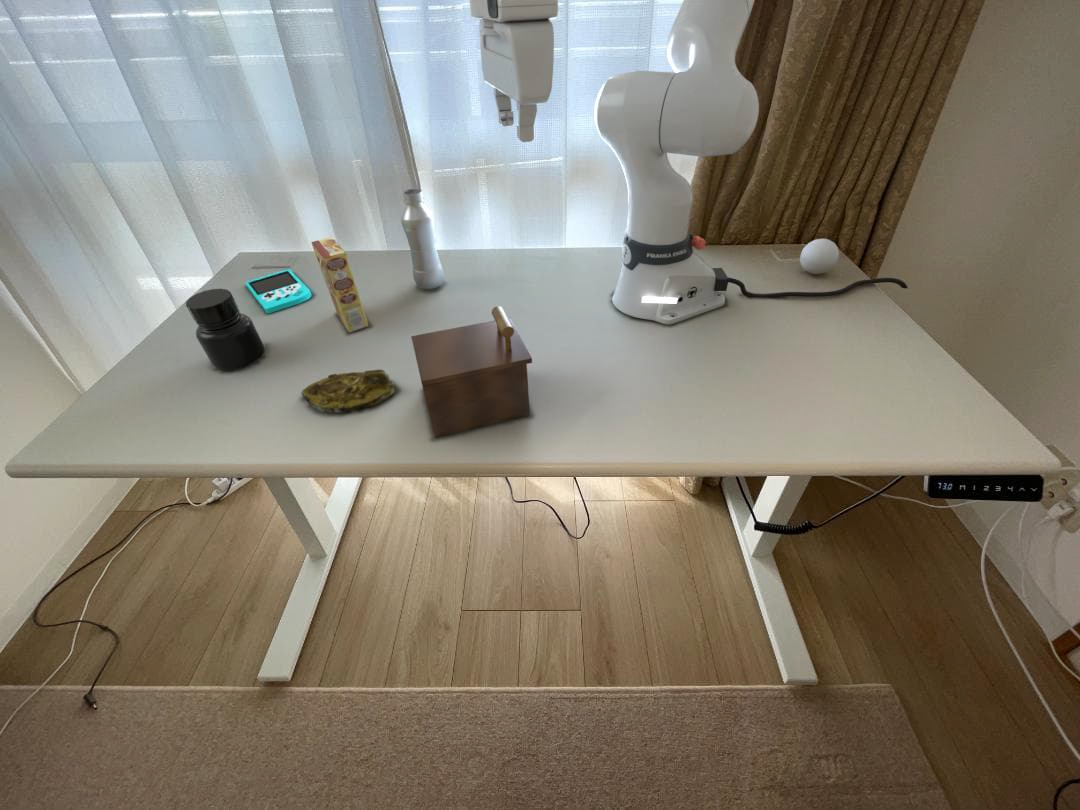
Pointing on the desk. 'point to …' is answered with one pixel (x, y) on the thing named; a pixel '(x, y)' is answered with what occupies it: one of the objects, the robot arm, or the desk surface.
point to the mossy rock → (349, 391)
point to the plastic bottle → (421, 240)
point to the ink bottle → (224, 330)
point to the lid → (469, 350)
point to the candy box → (340, 283)
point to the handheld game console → (278, 290)
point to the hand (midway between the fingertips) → (515, 132)
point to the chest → (477, 400)
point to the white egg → (819, 256)
